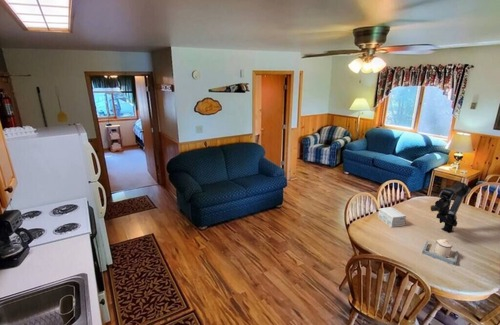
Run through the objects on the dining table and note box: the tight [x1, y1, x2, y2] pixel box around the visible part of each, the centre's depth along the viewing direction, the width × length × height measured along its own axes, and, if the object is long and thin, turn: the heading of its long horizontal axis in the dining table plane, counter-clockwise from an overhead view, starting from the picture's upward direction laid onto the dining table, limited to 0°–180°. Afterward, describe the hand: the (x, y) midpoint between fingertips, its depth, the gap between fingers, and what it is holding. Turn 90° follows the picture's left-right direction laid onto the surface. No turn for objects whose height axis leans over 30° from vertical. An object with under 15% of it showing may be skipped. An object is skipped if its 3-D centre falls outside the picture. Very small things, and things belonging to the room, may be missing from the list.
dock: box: [421, 240, 459, 266], centre depth 190 cm, size 15×19×2 cm
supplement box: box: [377, 206, 407, 228], centre depth 231 cm, size 17×13×9 cm
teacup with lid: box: [434, 238, 453, 258], centre depth 190 cm, size 12×9×12 cm
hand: (440, 222), depth 207 cm, fingers closed
